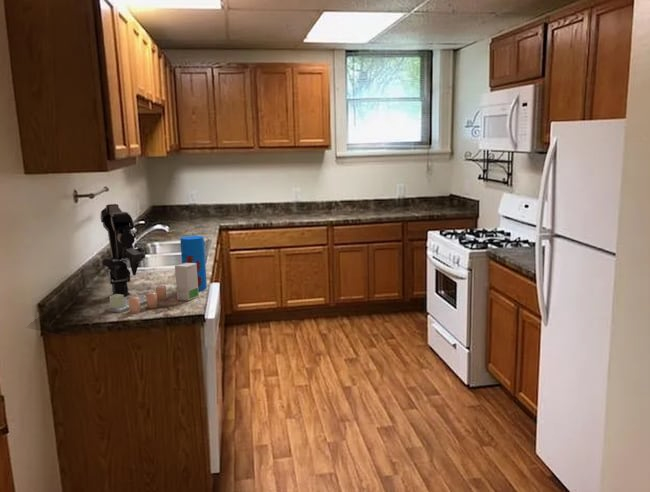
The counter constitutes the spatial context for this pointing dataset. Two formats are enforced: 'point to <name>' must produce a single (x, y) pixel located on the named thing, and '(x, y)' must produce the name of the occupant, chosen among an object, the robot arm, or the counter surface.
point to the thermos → (195, 257)
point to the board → (126, 307)
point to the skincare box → (186, 281)
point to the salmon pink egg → (151, 300)
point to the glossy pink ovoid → (161, 293)
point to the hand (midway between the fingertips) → (126, 277)
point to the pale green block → (116, 301)
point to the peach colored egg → (134, 305)
